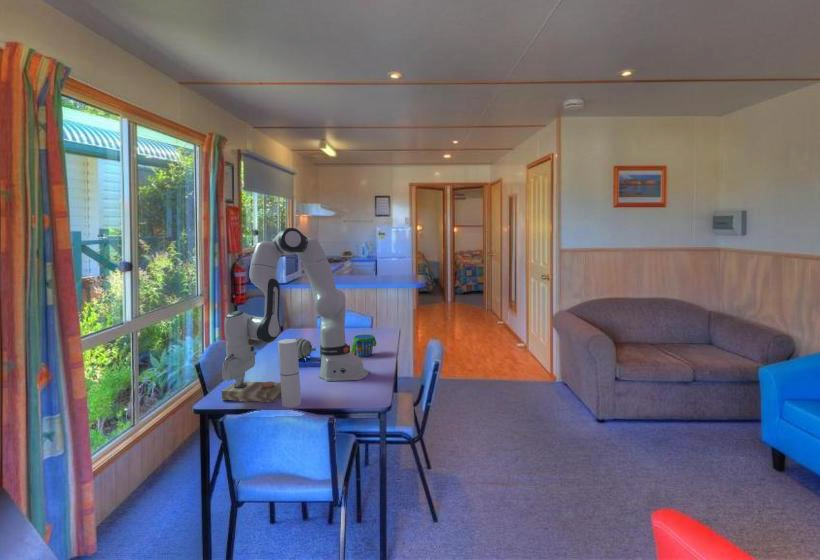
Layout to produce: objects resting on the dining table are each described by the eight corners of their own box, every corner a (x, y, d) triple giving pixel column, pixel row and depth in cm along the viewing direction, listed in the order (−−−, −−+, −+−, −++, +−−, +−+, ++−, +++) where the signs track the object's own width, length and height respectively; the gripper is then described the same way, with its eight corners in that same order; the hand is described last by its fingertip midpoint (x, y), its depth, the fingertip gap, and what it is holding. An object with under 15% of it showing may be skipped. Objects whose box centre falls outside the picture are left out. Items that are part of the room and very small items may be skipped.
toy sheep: (291, 356, 267) (290, 335, 266) (321, 357, 263) (319, 336, 261) (281, 362, 257) (280, 340, 256) (312, 363, 253) (311, 341, 251)
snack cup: (369, 350, 273) (369, 332, 272) (382, 354, 265) (382, 335, 264) (346, 357, 262) (345, 337, 261) (359, 360, 254) (358, 340, 253)
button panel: (286, 392, 211) (285, 382, 211) (273, 402, 200) (272, 392, 199) (237, 390, 215) (237, 381, 215) (222, 400, 204) (221, 391, 203)
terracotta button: (276, 391, 208) (275, 381, 208) (271, 395, 204) (270, 385, 203) (265, 391, 209) (264, 381, 209) (260, 395, 204) (259, 385, 204)
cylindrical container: (283, 408, 193) (279, 344, 190) (280, 402, 199) (276, 340, 196) (302, 405, 195) (298, 341, 192) (298, 399, 202) (295, 338, 199)
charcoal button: (249, 392, 210) (248, 382, 210) (243, 396, 206) (243, 386, 205) (238, 392, 211) (238, 382, 211) (232, 396, 207) (232, 386, 206)
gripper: (231, 358, 196) (234, 393, 197) (256, 345, 216) (259, 376, 217) (216, 358, 197) (219, 392, 199) (243, 345, 217) (245, 376, 219)
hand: (240, 384), depth 208 cm, fingers closed, pressing on charcoal button
